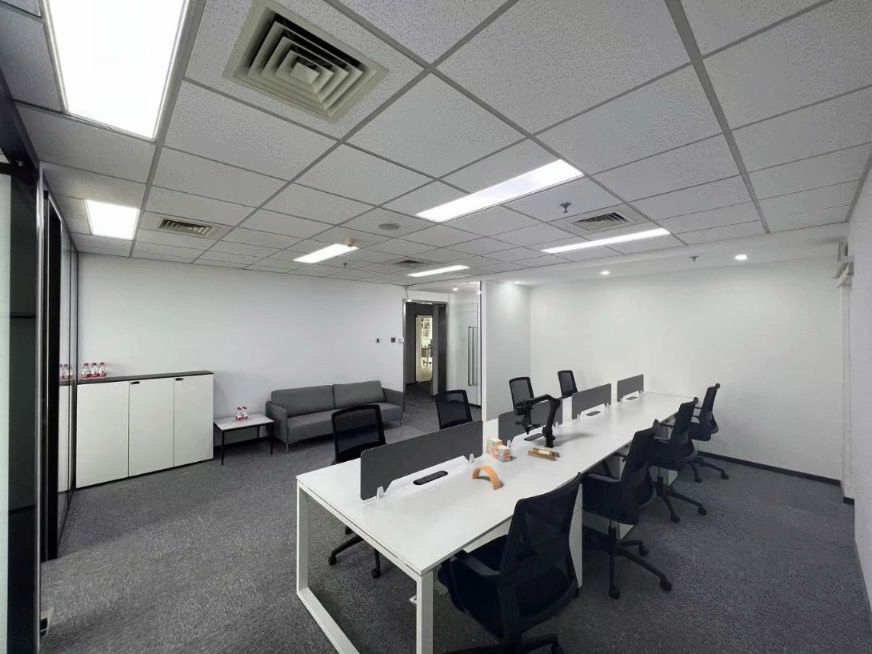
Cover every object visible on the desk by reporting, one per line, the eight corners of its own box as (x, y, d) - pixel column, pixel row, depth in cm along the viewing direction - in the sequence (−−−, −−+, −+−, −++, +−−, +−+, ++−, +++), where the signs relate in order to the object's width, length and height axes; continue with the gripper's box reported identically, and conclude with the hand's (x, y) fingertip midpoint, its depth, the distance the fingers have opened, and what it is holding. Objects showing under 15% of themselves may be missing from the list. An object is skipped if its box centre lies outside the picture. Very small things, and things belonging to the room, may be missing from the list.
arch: (493, 490, 205) (493, 473, 205) (471, 479, 221) (471, 463, 221) (500, 488, 208) (500, 471, 208) (478, 476, 224) (478, 461, 225)
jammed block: (541, 453, 264) (541, 448, 264) (552, 456, 259) (552, 450, 259) (538, 456, 259) (538, 450, 259) (549, 458, 254) (549, 452, 254)
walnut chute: (533, 451, 270) (533, 447, 270) (559, 456, 258) (559, 452, 258) (528, 455, 262) (528, 451, 262) (554, 461, 250) (554, 456, 250)
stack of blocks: (510, 461, 251) (510, 444, 251) (503, 462, 248) (503, 445, 248) (493, 452, 270) (492, 436, 270) (486, 453, 267) (486, 437, 268)
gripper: (512, 415, 277) (512, 435, 276) (534, 418, 265) (535, 439, 265) (518, 412, 285) (518, 431, 285) (540, 416, 274) (540, 435, 274)
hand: (527, 434), depth 277 cm, fingers closed
